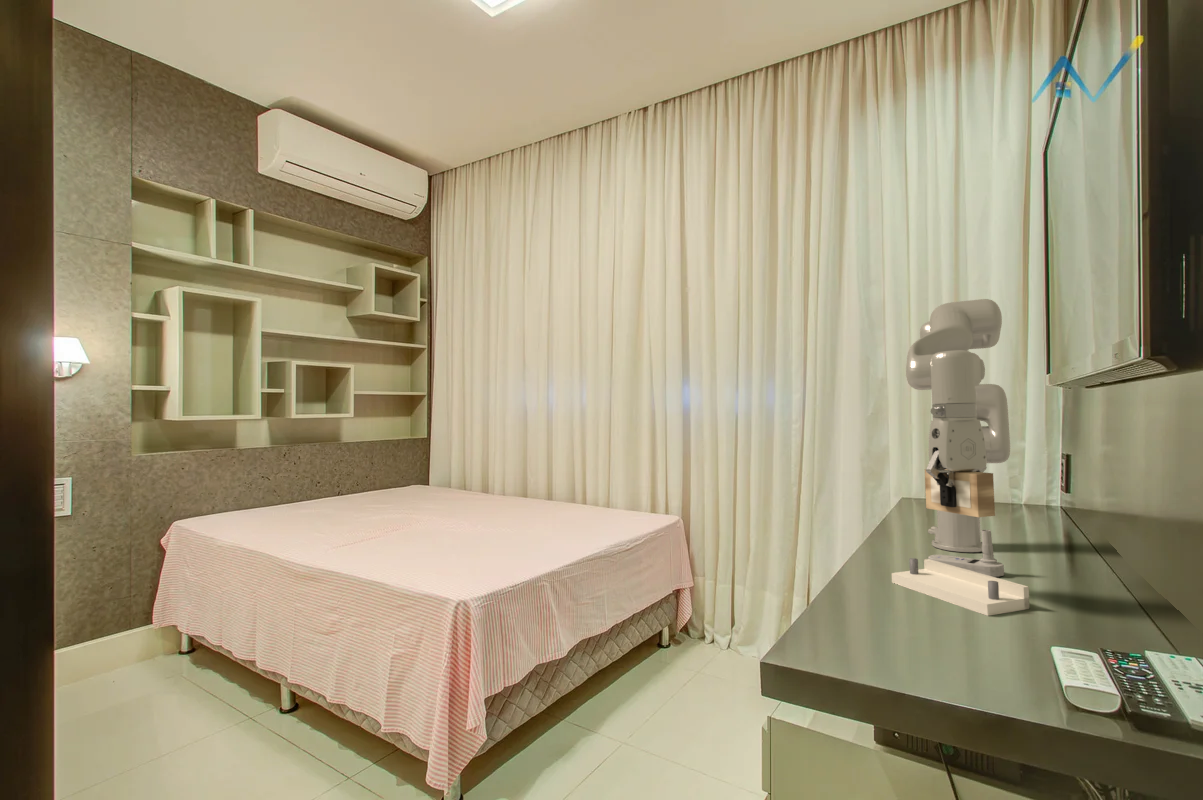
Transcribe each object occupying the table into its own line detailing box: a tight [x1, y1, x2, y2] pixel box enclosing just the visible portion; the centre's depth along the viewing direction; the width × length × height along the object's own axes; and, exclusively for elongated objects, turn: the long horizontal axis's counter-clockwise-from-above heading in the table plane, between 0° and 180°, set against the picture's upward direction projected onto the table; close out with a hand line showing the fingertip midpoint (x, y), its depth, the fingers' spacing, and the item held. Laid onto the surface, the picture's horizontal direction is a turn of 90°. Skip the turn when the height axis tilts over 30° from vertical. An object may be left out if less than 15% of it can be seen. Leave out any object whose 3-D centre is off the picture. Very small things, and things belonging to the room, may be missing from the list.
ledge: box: [891, 558, 1030, 617], centre depth 115 cm, size 22×10×5 cm, turn 17°
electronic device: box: [927, 529, 1005, 578], centre depth 132 cm, size 5×10×15 cm
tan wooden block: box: [924, 469, 996, 518], centre depth 115 cm, size 12×4×8 cm, turn 16°
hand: (958, 504), depth 115 cm, fingers closed on tan wooden block, 4 cm apart
